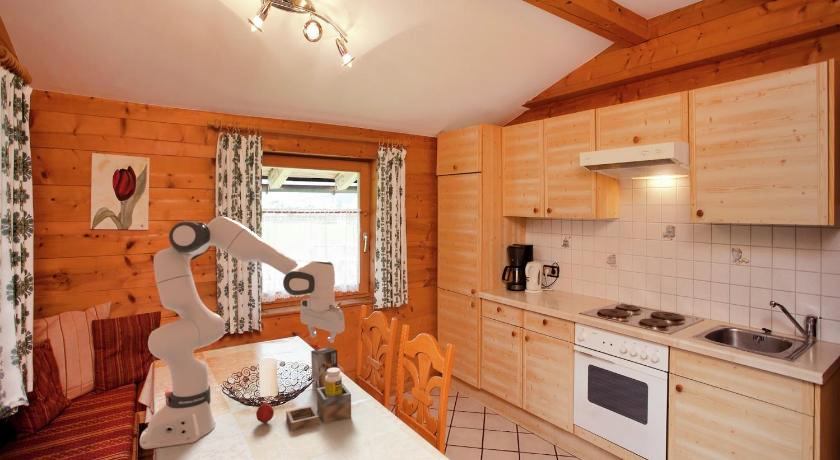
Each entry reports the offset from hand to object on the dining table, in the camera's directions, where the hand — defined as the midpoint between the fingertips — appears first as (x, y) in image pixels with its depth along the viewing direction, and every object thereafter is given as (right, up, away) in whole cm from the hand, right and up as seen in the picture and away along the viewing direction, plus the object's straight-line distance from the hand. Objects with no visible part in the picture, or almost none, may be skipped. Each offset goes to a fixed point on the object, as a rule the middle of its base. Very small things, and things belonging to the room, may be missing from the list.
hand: (322, 339), depth 164 cm
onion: (-19, -28, -7) cm, 35 cm away
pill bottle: (+5, -22, -1) cm, 22 cm away
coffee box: (-4, -26, +23) cm, 35 cm away
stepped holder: (-1, -28, -4) cm, 28 cm away
